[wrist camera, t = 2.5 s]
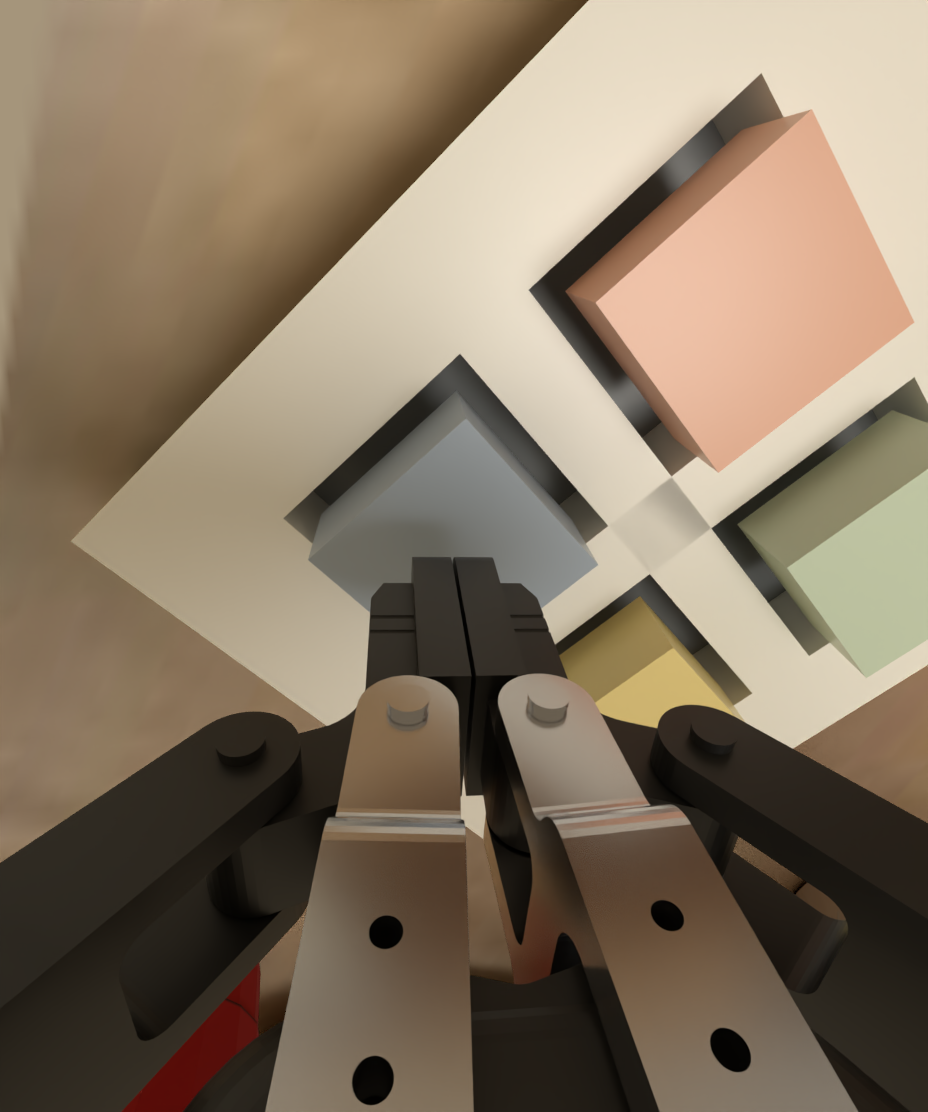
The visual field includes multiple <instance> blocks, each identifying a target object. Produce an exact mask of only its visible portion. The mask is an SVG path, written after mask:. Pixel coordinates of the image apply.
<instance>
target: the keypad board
mask: <svg viewBox="0 0 928 1112" xmlns="http://www.w3.org/2000/svg"><path fill="white" fill-rule="evenodd" d="M811 109H812V110H813V112H814V115H815V117H816V119H817V121H818V123H819V125H820V127H821V129H822V131H823V133H824V135H825V137H826V139H827V142H828V144H829V146H830V148H831V150H832V152H833V154H834V156H835V158H836V160H837V162H838V164H839V166H840V169H841V171H842V173H843V175H844V177H845V179H846V181H847V183H848V185H849V187H850V189H851V191H852V193H853V196H854V198H855V200H856V202H857V204H858V206H859V208H860V210H861V212H862V214H863V216H864V218H865V220H866V223H867V225H868V227H869V229H870V231H871V233H872V235H873V237H874V239H875V241H876V243H877V245H878V247H879V250H880V252H881V254H882V256H883V258H884V260H885V262H886V264H887V266H888V268H889V270H890V272H891V274H892V277H893V279H894V281H895V283H896V285H897V287H898V289H899V291H900V293H901V295H902V297H903V299H904V301H905V304H906V306H907V308H908V310H909V312H910V314H911V316H912V318H913V320H914V323H913V324H912V325H910V326H909V327H908V328H906V329H905V330H904V331H902V332H901V333H900V334H899V335H897V336H896V337H895V338H893V339H892V340H891V341H889V342H888V343H887V344H886V345H884V346H883V347H882V348H880V349H879V350H878V351H876V352H875V353H874V354H872V355H871V356H870V357H869V358H867V359H866V360H865V361H863V362H862V363H861V364H859V365H858V366H857V367H856V368H854V369H853V370H852V371H850V372H849V373H848V374H846V375H845V376H844V377H842V378H841V379H840V380H839V381H837V382H836V383H835V384H833V385H832V386H831V387H829V388H828V389H827V390H826V391H824V392H823V393H822V394H820V395H819V396H818V397H816V398H815V399H814V400H813V401H811V402H810V403H809V404H807V405H806V406H805V407H803V408H802V409H801V410H799V411H798V412H797V413H796V414H794V415H793V416H792V417H790V418H789V419H788V420H786V421H785V422H784V423H783V424H781V425H780V426H779V427H777V428H776V429H775V430H773V431H772V432H771V433H769V434H768V435H767V436H766V437H764V438H763V439H762V440H760V441H759V442H758V443H756V444H755V445H754V446H753V447H751V448H750V449H749V450H747V451H746V452H745V453H743V454H742V455H741V456H740V457H738V458H737V459H736V460H734V461H733V462H732V463H730V464H729V465H728V466H726V467H725V468H724V469H723V470H721V471H720V472H719V473H718V472H717V471H715V470H714V469H713V468H711V467H710V466H709V465H707V464H706V463H705V462H704V461H702V460H701V459H700V458H698V457H697V456H696V455H695V454H693V453H692V452H691V451H689V450H688V449H687V448H685V447H684V446H683V445H682V444H680V443H679V442H678V441H676V440H675V439H674V438H673V437H672V435H671V434H670V432H669V431H668V430H667V428H666V427H665V426H664V424H663V423H662V422H661V420H660V419H659V418H658V416H657V415H656V414H655V412H654V411H653V409H652V408H651V407H650V405H649V404H648V403H647V401H646V400H645V399H644V397H643V396H642V395H641V393H640V392H639V391H638V389H637V388H636V386H635V385H634V384H633V382H632V381H631V380H630V378H629V377H628V376H627V374H626V373H625V372H624V370H623V369H622V368H621V366H620V365H619V363H618V362H617V361H616V359H615V358H614V357H613V355H612V354H611V353H610V351H609V350H608V349H607V347H606V346H605V344H604V343H603V342H602V340H601V339H600V338H599V336H598V335H597V334H596V332H595V331H594V330H593V328H592V327H591V326H590V324H589V323H588V321H587V320H586V319H585V317H584V316H583V315H582V313H581V312H580V311H579V309H578V308H577V307H576V305H575V304H574V303H573V301H572V300H571V298H570V297H569V296H568V294H567V293H566V292H565V291H566V290H567V289H568V288H569V287H570V286H571V285H573V284H574V283H575V282H576V281H577V280H578V279H579V278H580V277H581V276H582V275H583V274H585V273H586V272H587V271H588V270H589V269H590V268H591V267H592V266H593V265H594V264H595V263H597V262H598V261H599V260H600V259H601V258H602V257H603V256H604V255H605V254H606V253H608V252H609V251H610V250H611V249H612V248H613V247H614V246H615V245H616V244H617V243H618V242H620V241H621V240H622V239H623V238H624V237H625V236H626V235H627V234H628V233H629V232H631V231H632V230H633V229H634V228H635V227H636V226H637V225H638V224H639V223H640V222H641V221H643V220H644V219H645V218H646V217H647V216H648V215H649V214H650V213H651V212H652V211H653V210H655V209H656V208H657V207H658V206H659V205H660V204H661V203H662V202H663V201H664V200H666V199H667V198H668V197H669V196H670V195H671V194H672V193H673V192H674V191H675V190H676V189H678V188H679V187H680V186H681V185H682V184H683V183H684V182H685V181H686V180H687V179H689V178H690V177H691V176H692V175H693V174H694V173H695V172H696V171H697V170H698V169H699V168H701V167H702V166H703V165H704V164H705V163H706V162H707V161H708V160H709V159H710V158H712V157H713V156H714V155H715V154H716V153H717V152H718V151H719V150H720V149H721V148H722V147H724V146H725V145H726V144H727V143H728V142H729V141H730V140H731V139H732V138H733V137H734V136H736V135H737V134H738V133H739V132H740V131H741V130H743V129H746V128H749V127H753V126H756V125H760V124H763V123H766V122H770V121H773V120H777V119H780V118H783V117H787V116H790V115H794V114H797V113H800V112H804V111H807V110H811ZM455 391H458V392H459V394H460V395H461V396H462V397H463V398H464V399H465V400H466V401H467V403H468V404H469V405H470V406H471V407H472V408H473V409H474V410H475V412H476V413H477V414H478V415H479V416H480V417H481V418H482V419H483V421H484V422H485V423H486V424H487V425H488V426H489V427H490V428H491V430H492V431H493V432H494V433H495V434H496V435H497V436H498V437H499V439H500V440H501V441H502V442H503V443H504V444H505V445H506V446H507V447H508V449H509V450H510V451H511V452H512V453H513V454H514V455H515V456H516V458H517V459H518V460H519V461H520V462H521V463H522V464H523V465H524V467H525V468H526V469H527V470H528V471H529V472H530V473H531V474H532V476H533V477H534V478H535V479H536V480H537V481H538V482H539V483H540V485H541V486H542V487H543V488H544V489H545V490H546V491H547V492H548V494H549V495H550V496H551V497H552V498H553V499H554V500H555V501H556V503H557V504H558V505H559V506H560V507H561V508H562V509H563V510H564V512H565V513H566V514H567V515H568V516H569V517H570V518H571V519H572V521H573V522H574V524H575V526H576V527H577V529H578V531H579V533H580V534H581V536H582V538H583V539H584V541H585V543H586V545H587V546H588V548H589V550H590V551H591V553H592V555H593V557H594V558H595V560H596V562H597V563H598V565H597V566H596V567H595V568H594V569H592V570H591V571H590V572H588V573H587V574H586V575H584V576H583V577H582V578H580V579H579V580H578V581H577V582H575V583H574V584H573V585H571V586H570V587H569V588H567V589H566V590H565V591H564V592H562V593H561V594H560V595H558V596H557V597H556V598H554V599H553V600H552V601H550V602H549V603H548V604H547V605H545V606H544V607H543V608H541V609H542V612H543V615H544V616H543V617H544V618H545V620H546V622H547V625H548V628H549V632H550V633H551V636H552V638H553V641H554V643H555V646H556V649H557V651H558V654H559V655H561V654H562V653H563V652H565V651H566V650H567V649H569V648H570V647H571V646H573V645H574V644H576V643H577V642H578V641H580V640H581V639H582V638H584V637H585V636H586V635H588V634H589V633H590V632H592V631H593V630H595V629H596V628H597V627H599V626H600V625H601V624H603V623H604V622H605V621H607V620H608V619H609V618H611V617H612V616H613V615H615V614H616V613H618V612H619V611H620V610H622V609H623V608H624V607H626V606H627V605H628V604H630V603H631V602H632V601H634V600H635V599H637V598H638V597H639V596H640V597H641V598H642V599H643V600H644V601H645V603H646V604H647V605H648V606H649V607H650V608H651V609H652V610H653V611H654V613H655V614H656V615H657V616H658V617H659V618H660V619H661V620H662V622H663V623H664V624H665V625H666V626H667V627H668V628H669V629H670V631H671V632H672V633H673V634H674V635H675V636H676V637H677V638H678V640H679V641H680V642H681V643H682V644H683V645H684V646H685V647H686V649H687V650H688V651H689V652H690V653H691V654H692V655H693V656H694V658H695V659H696V660H697V661H698V662H699V663H700V664H701V665H702V667H703V668H704V669H705V670H706V671H707V672H708V673H709V674H710V676H711V677H712V678H713V679H714V680H715V681H716V682H717V683H718V685H719V686H720V687H721V688H722V690H723V691H724V692H725V694H726V695H727V697H728V698H729V700H730V701H731V702H732V704H733V705H734V707H735V708H736V710H737V711H738V713H739V714H740V715H741V717H742V718H743V720H744V721H745V723H747V724H749V725H751V726H753V727H754V728H756V729H758V730H760V731H762V732H763V733H765V734H767V735H769V736H771V737H772V738H774V739H776V740H778V741H780V742H782V743H783V744H785V745H787V746H789V747H791V748H792V749H793V748H794V747H796V746H798V745H799V744H801V743H802V742H804V741H806V740H807V739H809V738H810V737H812V736H814V735H815V734H817V733H819V732H820V731H822V730H823V729H825V728H827V727H828V726H830V725H831V724H833V723H835V722H836V721H838V720H840V719H841V718H843V717H844V716H846V715H848V714H849V713H851V712H852V711H854V710H856V709H857V708H859V707H860V706H862V705H864V704H865V703H867V702H869V701H870V700H872V699H873V698H875V697H877V696H878V695H880V694H881V693H883V692H885V691H886V690H888V689H889V688H891V687H893V686H894V685H896V684H898V683H899V682H901V681H902V680H904V679H906V678H907V677H909V676H910V675H912V674H914V673H915V672H917V671H919V670H920V669H922V668H923V667H925V666H927V665H928V640H926V641H925V642H923V643H921V644H920V645H918V646H917V647H915V648H913V649H912V650H910V651H909V652H907V653H906V654H904V655H902V656H901V657H899V658H898V659H896V660H894V661H893V662H891V663H890V664H888V665H887V666H885V667H883V668H882V669H880V670H879V671H877V672H875V673H874V674H872V675H871V676H869V677H868V678H866V677H865V676H864V675H863V674H862V673H861V672H860V671H859V670H858V669H857V668H855V667H854V666H853V665H852V664H851V663H850V662H849V661H848V660H847V659H846V658H845V657H844V656H843V655H842V654H841V653H840V652H839V651H838V650H837V649H836V648H835V647H834V646H833V645H832V644H831V643H830V642H829V641H828V640H827V639H825V638H824V637H823V636H822V635H821V634H820V633H819V632H818V631H817V630H816V629H815V628H814V627H813V626H812V625H811V623H810V622H809V621H808V619H807V618H806V617H805V615H804V614H803V612H802V611H801V610H800V608H799V607H798V606H797V604H796V603H795V602H794V600H793V599H792V598H791V596H790V595H789V594H788V592H787V591H786V589H785V588H784V587H783V585H782V584H781V583H780V581H779V580H778V579H777V577H776V576H775V575H774V573H773V572H772V571H771V569H770V568H769V566H768V565H767V564H766V562H765V561H764V560H763V558H762V557H761V556H760V554H759V553H758V552H757V550H756V549H755V548H754V546H753V545H752V543H751V542H750V541H749V539H748V538H747V537H746V535H745V534H744V533H743V531H742V530H741V529H740V527H739V526H738V525H737V524H738V523H740V522H741V521H742V520H744V519H745V518H746V517H748V516H749V515H750V514H752V513H753V512H755V511H756V510H757V509H759V508H760V507H761V506H763V505H764V504H765V503H767V502H768V501H769V500H771V499H772V498H774V497H775V496H776V495H778V494H779V493H780V492H782V491H783V490H784V489H786V488H787V487H788V486H790V485H791V484H793V483H794V482H795V481H797V480H798V479H799V478H801V477H802V476H803V475H805V474H806V473H807V472H809V471H810V470H812V469H813V468H814V467H816V466H817V465H818V464H820V463H821V462H822V461H824V460H825V459H826V458H828V457H829V456H831V455H832V454H833V453H835V452H836V451H837V450H839V449H840V448H841V447H843V446H844V445H845V444H847V443H848V442H850V441H851V440H852V439H854V438H855V437H856V436H858V435H859V434H860V433H862V432H863V431H864V430H866V429H867V428H868V427H870V426H871V425H873V424H874V423H875V422H877V421H878V420H879V419H881V418H882V417H883V416H885V415H886V414H887V413H889V412H890V411H892V410H893V411H896V412H899V413H902V414H904V415H907V416H910V417H912V418H915V419H918V420H921V421H923V422H926V423H928V0H589V1H588V2H587V3H586V4H585V5H584V6H583V7H582V8H581V9H580V10H579V11H578V12H577V13H576V14H575V15H574V16H573V17H572V18H571V19H570V20H569V21H568V22H567V23H566V25H565V26H564V27H563V28H562V29H561V30H560V31H559V32H558V33H557V34H556V35H555V36H554V37H553V38H552V39H551V40H550V41H549V42H548V43H547V44H546V45H545V46H544V48H543V49H542V50H541V51H540V52H539V53H538V54H537V55H536V56H535V57H534V58H533V59H532V60H531V61H530V62H529V63H528V64H527V65H526V66H525V67H524V68H523V69H522V70H521V72H520V73H519V74H518V75H517V76H516V77H515V78H514V79H513V80H512V81H511V82H510V83H509V84H508V85H507V86H506V87H505V88H504V89H503V90H502V91H501V92H500V93H499V95H498V96H497V97H496V98H495V99H494V100H493V101H492V102H491V103H490V104H489V105H488V106H487V107H486V108H485V109H484V110H483V111H482V112H481V113H480V114H479V115H478V116H477V117H476V119H475V120H474V121H473V122H472V123H471V124H470V125H469V126H468V127H467V128H466V129H465V130H464V131H463V132H462V133H461V134H460V135H459V136H458V137H457V138H456V139H455V140H454V141H453V143H452V144H451V145H450V146H449V147H448V148H447V149H446V150H445V151H444V152H443V153H442V154H441V155H440V156H439V157H438V158H437V159H436V160H435V161H434V162H433V163H432V164H431V166H430V167H429V168H428V169H427V170H426V171H425V172H424V173H423V174H422V175H421V176H420V177H419V178H418V179H417V180H416V181H415V182H414V183H413V184H412V185H411V186H410V187H409V188H408V190H407V191H406V192H405V193H404V194H403V195H402V196H401V197H400V198H399V199H398V200H397V201H396V202H395V203H394V204H393V205H392V206H391V207H390V208H389V209H388V210H387V211H386V213H385V214H384V215H383V216H382V217H381V218H380V219H379V220H378V221H377V222H376V223H375V224H374V225H373V226H372V227H371V228H370V229H369V230H368V231H367V232H366V233H365V234H364V235H363V237H362V238H361V239H360V240H359V241H358V242H357V243H356V244H355V245H354V246H353V247H352V248H351V249H350V250H349V251H348V252H347V253H346V254H345V255H344V256H343V257H342V258H341V260H340V261H339V262H338V263H337V264H336V265H335V266H334V267H333V268H332V269H331V270H330V271H329V272H328V273H327V274H326V275H325V276H324V277H323V278H322V279H321V280H320V281H319V282H318V284H317V285H316V286H315V287H314V288H313V289H312V290H311V291H310V292H309V293H308V294H307V295H306V296H305V297H304V298H303V299H302V300H301V301H300V302H299V303H298V304H297V305H296V306H295V308H294V309H293V310H292V311H291V312H290V313H289V314H288V315H287V316H286V317H285V318H284V319H283V320H282V321H281V322H280V323H279V324H278V325H277V326H276V327H275V328H274V329H273V331H272V332H271V333H270V334H269V335H268V336H267V337H266V338H265V339H264V340H263V341H262V342H261V343H260V344H259V345H258V346H257V347H256V348H255V349H254V350H253V351H252V352H251V353H250V355H249V356H248V357H247V358H246V359H245V360H244V361H243V362H242V363H241V364H240V365H239V366H238V367H237V368H236V369H235V370H234V371H233V372H232V373H231V374H230V375H229V376H228V378H227V379H226V380H225V381H224V382H223V383H222V384H221V385H220V386H219V387H218V388H217V389H216V390H215V391H214V392H213V393H212V394H211V395H210V396H209V397H208V398H207V399H206V400H205V402H204V403H203V404H202V405H201V406H200V407H199V408H198V409H197V410H196V411H195V412H194V413H193V414H192V415H191V416H190V417H189V418H188V419H187V420H186V421H185V422H184V423H183V424H182V426H181V427H180V428H179V429H178V430H177V431H176V432H175V433H174V434H173V435H172V436H171V437H170V438H169V439H168V440H167V441H166V442H165V443H164V444H163V445H162V446H161V447H160V449H159V450H158V451H157V452H156V453H155V454H154V455H153V456H152V457H151V458H150V459H149V460H148V461H147V462H146V463H145V464H144V465H143V466H142V467H141V468H140V469H139V470H138V471H137V473H136V474H135V475H134V476H133V477H132V478H131V479H130V480H129V481H128V482H127V483H126V484H125V485H124V486H123V487H122V488H121V489H120V490H119V491H118V492H117V493H116V494H115V496H114V497H113V498H112V499H111V500H110V501H109V502H108V503H107V504H106V505H105V506H104V507H103V508H102V509H101V510H100V511H99V512H98V513H97V514H96V515H95V516H94V517H93V518H92V520H91V521H90V522H89V523H88V524H87V525H86V526H85V527H84V528H83V529H82V530H81V531H80V532H79V533H78V534H77V535H76V536H75V537H74V538H73V539H72V540H71V542H72V543H74V544H75V545H77V546H78V547H79V548H81V549H82V550H84V551H85V552H86V553H88V554H89V555H90V556H92V557H93V558H95V559H96V560H97V561H99V562H100V563H102V564H103V565H104V566H106V567H107V568H108V569H110V570H111V571H113V572H114V573H115V574H117V575H118V576H120V577H121V578H122V579H124V580H125V581H127V582H128V583H129V584H131V585H132V586H133V587H135V588H136V589H138V590H139V591H140V592H142V593H143V594H145V595H146V596H147V597H149V598H150V599H151V600H153V601H154V602H156V603H157V604H158V605H160V606H161V607H163V608H164V609H165V610H167V611H168V612H169V613H171V614H172V615H174V616H175V617H176V618H178V619H179V620H181V621H182V622H183V623H185V624H186V625H187V626H189V627H190V628H192V629H193V630H194V631H196V632H197V633H199V634H200V635H201V636H203V637H204V638H206V639H207V640H208V641H210V642H211V643H212V644H214V645H215V646H217V647H218V648H219V649H221V650H222V651H224V652H225V653H226V654H228V655H229V656H230V657H232V658H233V659H235V660H236V661H237V662H239V663H240V664H242V665H243V666H244V667H246V668H247V669H248V670H250V671H251V672H253V673H254V674H255V675H257V676H258V677H260V678H261V679H262V680H264V681H265V682H267V683H268V684H269V685H271V686H272V687H273V688H275V689H276V690H278V691H279V692H280V693H282V694H283V695H285V696H286V697H287V698H289V699H290V700H291V701H293V702H294V703H296V704H297V705H298V706H300V707H301V708H303V709H304V710H305V711H307V712H308V713H309V714H311V715H312V716H314V717H315V718H316V719H318V720H319V721H321V722H322V723H323V724H325V725H326V726H328V725H331V724H333V723H335V722H337V721H339V720H341V719H343V718H344V717H346V716H347V715H349V714H350V713H351V712H352V711H353V710H354V709H355V708H356V707H357V704H358V700H359V698H360V697H361V695H362V694H363V693H364V692H365V687H366V671H367V655H368V638H369V622H370V612H369V611H368V610H366V609H365V608H364V607H363V606H362V605H360V604H359V603H358V602H357V601H356V600H355V599H353V598H352V597H351V596H350V595H349V594H348V593H346V592H345V591H344V590H343V589H342V588H340V587H339V586H338V585H337V584H336V583H335V582H333V581H332V580H331V579H330V578H329V577H327V576H326V575H325V574H324V573H323V572H322V571H320V570H319V569H318V568H317V567H316V566H314V565H313V564H312V563H311V562H310V561H309V560H308V558H309V555H310V551H311V548H312V544H313V541H314V537H315V534H316V530H317V527H318V523H319V520H320V516H321V514H322V513H323V512H324V511H325V510H326V509H327V508H328V507H330V506H331V505H332V504H333V503H334V502H335V501H336V500H337V499H338V498H339V497H340V496H342V495H343V494H344V493H345V492H346V491H347V490H348V489H349V488H350V487H351V486H353V485H354V484H355V483H356V482H357V481H358V480H359V479H360V478H361V477H362V476H363V475H365V474H366V473H367V472H368V471H369V470H370V469H371V468H372V467H373V466H374V465H376V464H377V463H378V462H379V461H380V460H381V459H382V458H383V457H384V456H385V455H386V454H388V453H389V452H390V451H391V450H392V449H393V448H394V447H395V446H396V445H397V444H398V443H400V442H401V441H402V440H403V439H404V438H405V437H406V436H407V435H408V434H409V433H411V432H412V431H413V430H414V429H415V428H416V427H417V426H418V425H419V424H420V423H421V422H423V421H424V420H425V419H426V418H427V417H428V416H429V415H430V414H431V413H432V412H434V411H435V410H436V409H437V408H438V407H439V406H440V405H441V404H442V403H443V402H444V401H446V400H447V399H448V398H449V397H450V396H451V395H452V394H453V393H454V392H455ZM485 815H486V810H485V804H484V797H483V795H480V796H466V792H465V784H464V776H463V787H462V796H461V820H464V822H465V826H466V827H468V828H469V829H470V830H472V831H473V832H474V833H476V834H477V835H479V836H480V837H481V838H483V835H484V825H485Z"/></svg>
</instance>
